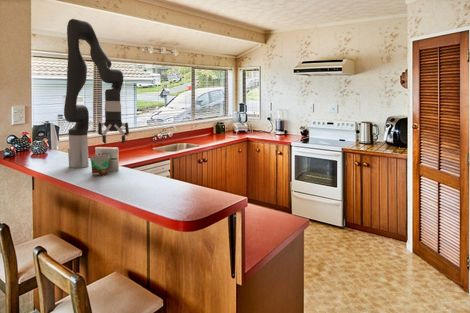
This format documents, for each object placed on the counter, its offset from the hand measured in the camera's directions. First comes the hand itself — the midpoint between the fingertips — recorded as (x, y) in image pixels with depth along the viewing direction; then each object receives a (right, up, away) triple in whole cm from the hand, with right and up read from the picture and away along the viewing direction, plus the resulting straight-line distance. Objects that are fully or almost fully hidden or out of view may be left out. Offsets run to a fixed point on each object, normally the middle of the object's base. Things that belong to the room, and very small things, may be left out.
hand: (113, 143), depth 178 cm
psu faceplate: (-6, -14, +7) cm, 17 cm away
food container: (-5, -16, -1) cm, 16 cm away
